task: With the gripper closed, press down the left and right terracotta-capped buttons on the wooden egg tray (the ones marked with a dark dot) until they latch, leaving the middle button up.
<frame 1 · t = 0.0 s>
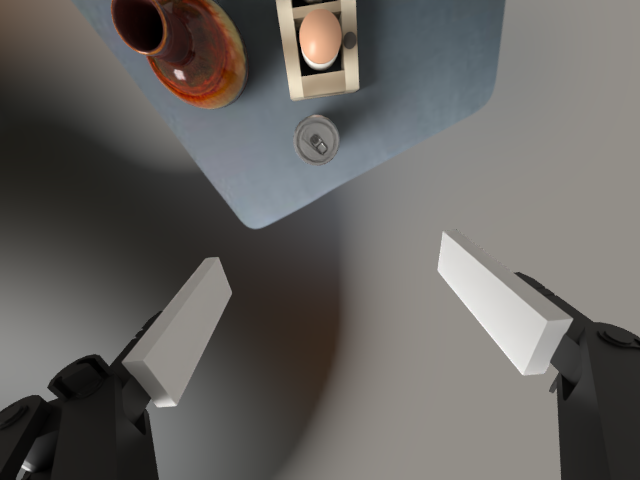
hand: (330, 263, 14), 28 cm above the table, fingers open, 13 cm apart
beer can: (316, 136, 36), on the table
vase: (215, 65, 32), on the table
button c: (320, 43, 27), point 5 cm above the table, slide at 0.0 cm
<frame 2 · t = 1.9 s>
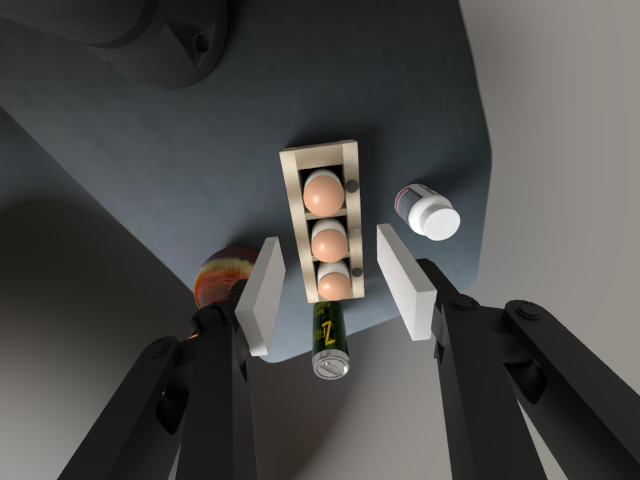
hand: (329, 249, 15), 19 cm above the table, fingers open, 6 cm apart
beer can: (327, 306, 43), on the table
vase: (245, 266, 39), on the table
button a: (323, 191, 28), point 5 cm above the table, slide at 0.0 cm
pill bottle: (411, 200, 34), on the table
button c: (333, 278, 34), point 5 cm above the table, slide at 0.0 cm
wooden egg tray: (327, 224, 35), on the table
button b: (328, 239, 31), point 5 cm above the table, slide at 0.0 cm
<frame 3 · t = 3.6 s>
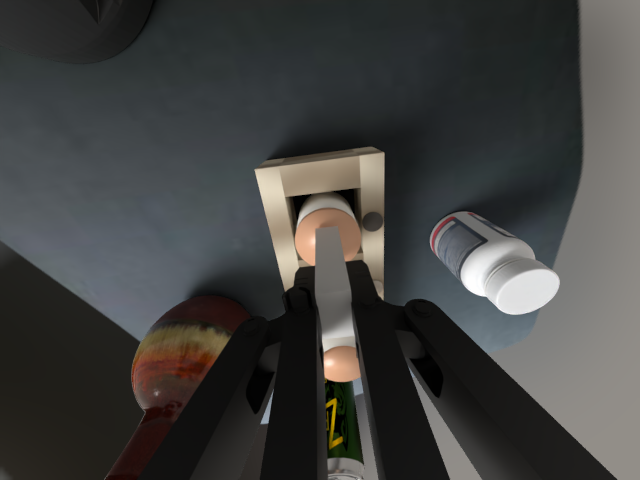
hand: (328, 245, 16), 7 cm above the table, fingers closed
beer can: (330, 363, 33), on the table
vase: (219, 318, 28), on the table
button a: (326, 227, 18), point 4 cm above the table, slide at 0.7 cm, touching gripper
pill bottle: (454, 233, 23), on the table
button c: (340, 346, 23), point 5 cm above the table, slide at 0.0 cm
wooden egg tray: (331, 266, 25), on the table
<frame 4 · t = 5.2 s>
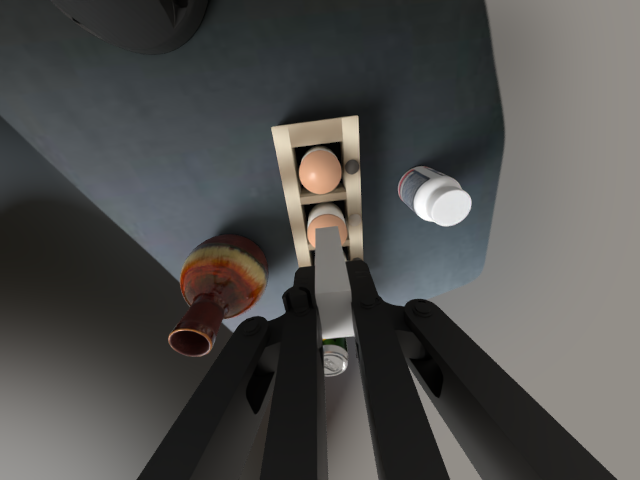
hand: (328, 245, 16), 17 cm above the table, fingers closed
beer can: (325, 299, 41), on the table
vase: (237, 256, 36), on the table
button a: (319, 169, 27), point 3 cm above the table, slide at 1.9 cm
pill bottle: (416, 185, 31), on the table
button c: (331, 268, 31), point 5 cm above the table, slide at 0.0 cm
wooden egg tray: (325, 211, 32), on the table
button b: (326, 225, 28), point 5 cm above the table, slide at 0.0 cm
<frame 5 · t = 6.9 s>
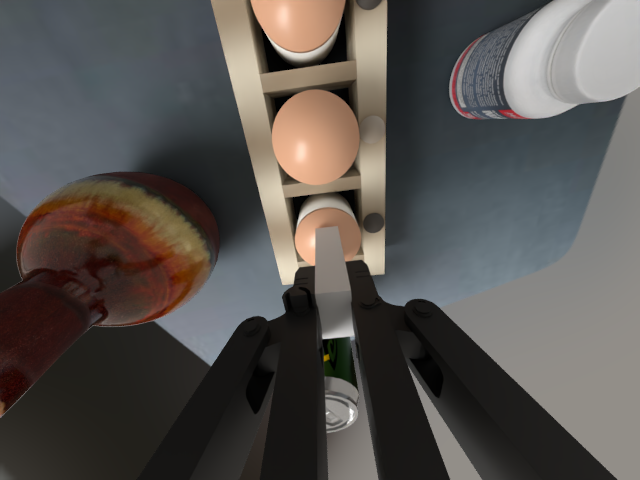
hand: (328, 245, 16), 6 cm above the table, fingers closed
beer can: (319, 293, 26), on the table
vase: (173, 222, 22), on the table
button a: (300, 8, 13), point 3 cm above the table, slide at 1.9 cm
pill bottle: (482, 79, 17), on the table
button c: (326, 227, 18), point 4 cm above the table, slide at 0.9 cm, touching gripper
wooden egg tray: (315, 134, 18), on the table
button b: (315, 138, 14), point 5 cm above the table, slide at 0.0 cm
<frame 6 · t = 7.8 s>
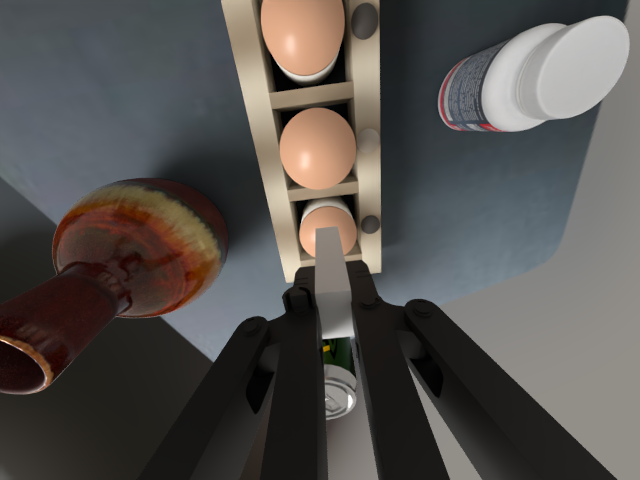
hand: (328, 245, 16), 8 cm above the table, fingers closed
beer can: (320, 293, 28), on the table
vase: (185, 224, 24), on the table
button a: (304, 37, 15), point 3 cm above the table, slide at 1.9 cm
pill bottle: (467, 95, 19), on the table
button c: (327, 224, 20), point 3 cm above the table, slide at 1.9 cm
wooden egg tray: (317, 144, 20), on the table
button b: (317, 148, 16), point 5 cm above the table, slide at 0.0 cm
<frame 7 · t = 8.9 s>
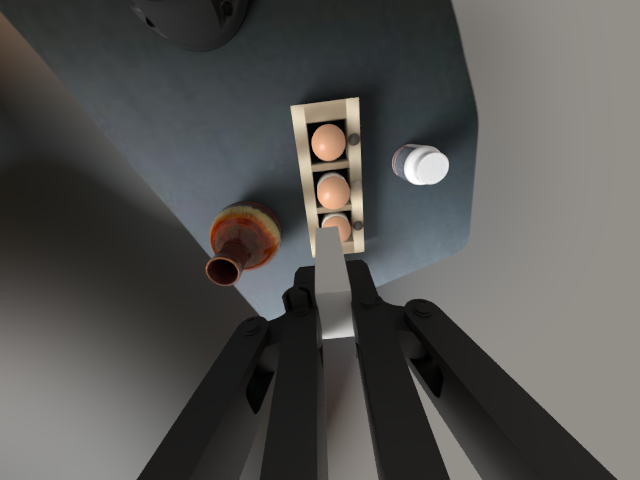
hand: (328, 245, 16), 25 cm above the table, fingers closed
vase: (254, 225, 42), on the table
button a: (327, 142, 33), point 3 cm above the table, slide at 1.9 cm
pill bottle: (407, 161, 37), on the table
button c: (335, 225, 39), point 3 cm above the table, slide at 1.9 cm
wooden egg tray: (331, 183, 39), on the table
button b: (332, 190, 34), point 5 cm above the table, slide at 0.0 cm
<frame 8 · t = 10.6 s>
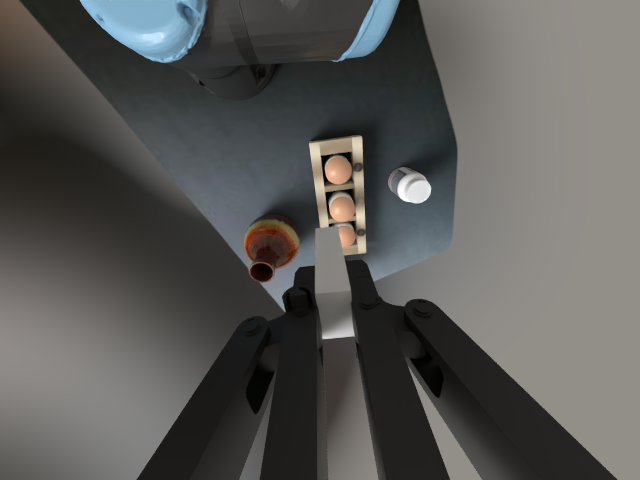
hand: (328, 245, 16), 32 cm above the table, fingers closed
vase: (276, 231, 51), on the table
button a: (337, 168, 42), point 3 cm above the table, slide at 1.9 cm
pill bottle: (400, 180, 46), on the table
button c: (342, 232, 48), point 3 cm above the table, slide at 1.9 cm
wooden egg tray: (339, 198, 48), on the table
button b: (341, 205, 43), point 5 cm above the table, slide at 0.0 cm
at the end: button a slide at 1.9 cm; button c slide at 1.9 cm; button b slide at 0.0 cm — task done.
